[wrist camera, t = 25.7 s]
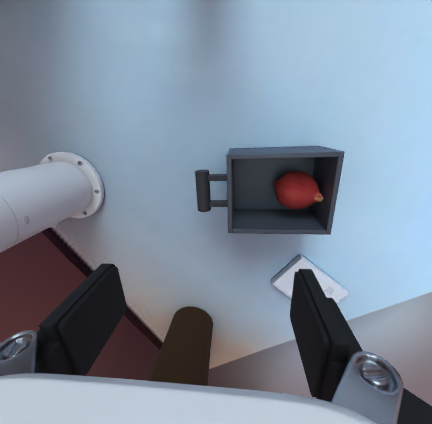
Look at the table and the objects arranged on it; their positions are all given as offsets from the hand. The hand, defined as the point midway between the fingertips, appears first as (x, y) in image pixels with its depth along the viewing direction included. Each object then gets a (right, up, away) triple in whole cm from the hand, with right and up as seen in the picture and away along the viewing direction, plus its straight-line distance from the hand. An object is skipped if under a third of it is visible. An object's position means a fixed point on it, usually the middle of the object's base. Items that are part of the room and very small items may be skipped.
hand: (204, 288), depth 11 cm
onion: (+10, +9, +24) cm, 27 cm away
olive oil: (-5, -22, +39) cm, 45 cm away
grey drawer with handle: (+8, +9, +26) cm, 28 cm away
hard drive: (+19, -10, +32) cm, 39 cm away
